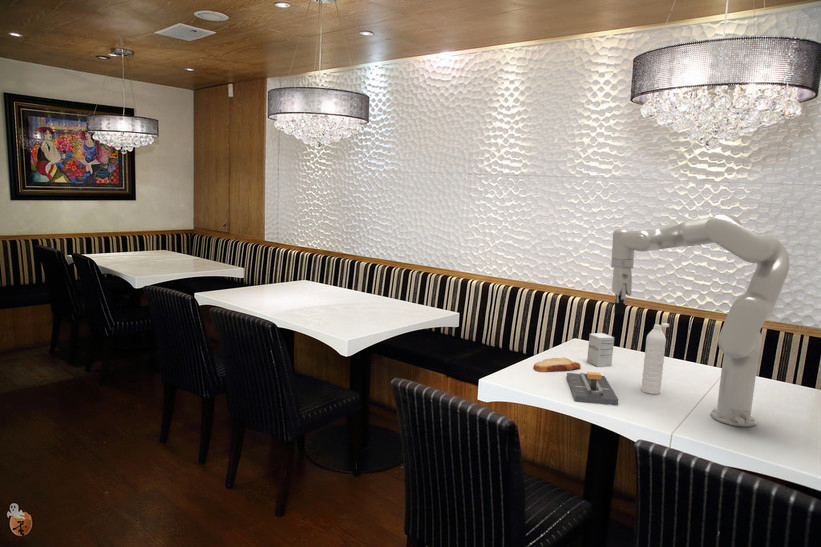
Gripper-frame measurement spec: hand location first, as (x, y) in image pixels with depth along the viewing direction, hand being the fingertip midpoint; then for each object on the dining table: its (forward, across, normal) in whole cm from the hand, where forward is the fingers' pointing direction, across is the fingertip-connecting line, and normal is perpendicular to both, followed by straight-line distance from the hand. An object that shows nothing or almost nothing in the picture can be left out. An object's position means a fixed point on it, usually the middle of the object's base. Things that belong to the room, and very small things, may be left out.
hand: (619, 313), depth 206 cm
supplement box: (+28, +30, 0) cm, 40 cm away
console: (+28, -6, +10) cm, 30 cm away
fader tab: (+26, -10, +10) cm, 29 cm away
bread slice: (+28, +19, +18) cm, 38 cm away
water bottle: (+28, -1, -13) cm, 31 cm away
